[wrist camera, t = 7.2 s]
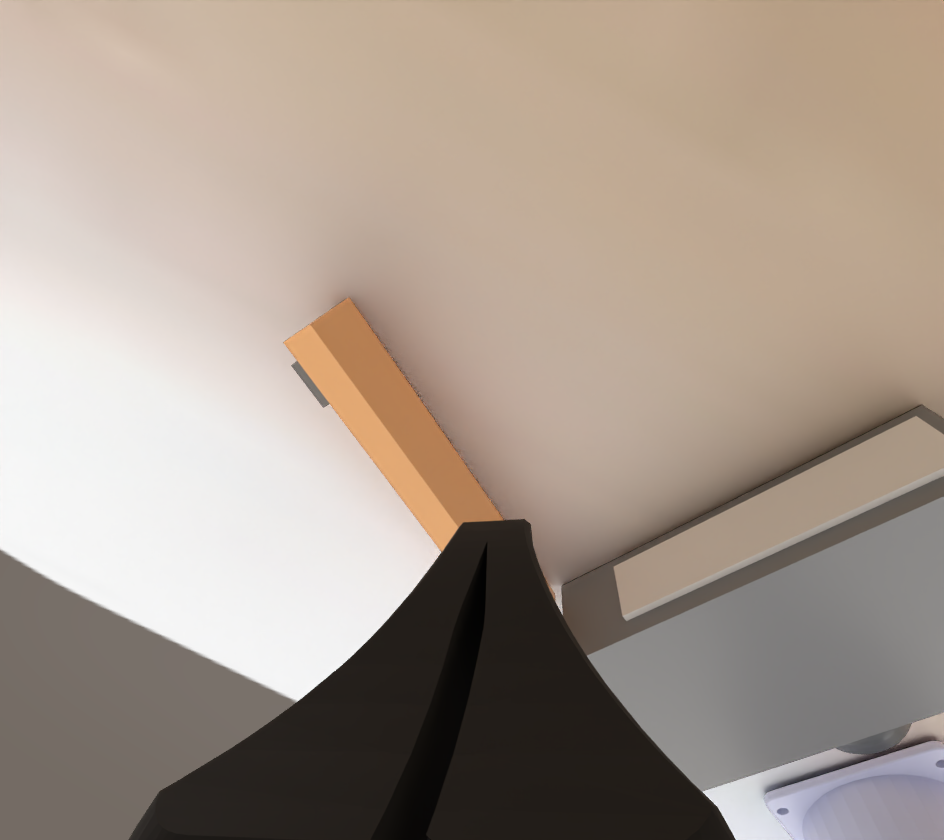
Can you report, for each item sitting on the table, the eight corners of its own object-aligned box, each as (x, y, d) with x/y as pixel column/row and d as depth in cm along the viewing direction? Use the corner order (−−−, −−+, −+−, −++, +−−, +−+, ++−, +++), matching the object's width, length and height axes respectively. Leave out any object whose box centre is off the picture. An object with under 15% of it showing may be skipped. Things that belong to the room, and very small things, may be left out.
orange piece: (349, 297, 19) (310, 324, 16) (554, 593, 23) (557, 663, 20) (308, 324, 19) (262, 356, 16) (516, 609, 23) (513, 679, 20)
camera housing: (1019, 592, 21) (1120, 683, 17) (676, 722, 25) (698, 815, 22) (919, 399, 18) (1012, 456, 15) (558, 582, 23) (561, 660, 19)
